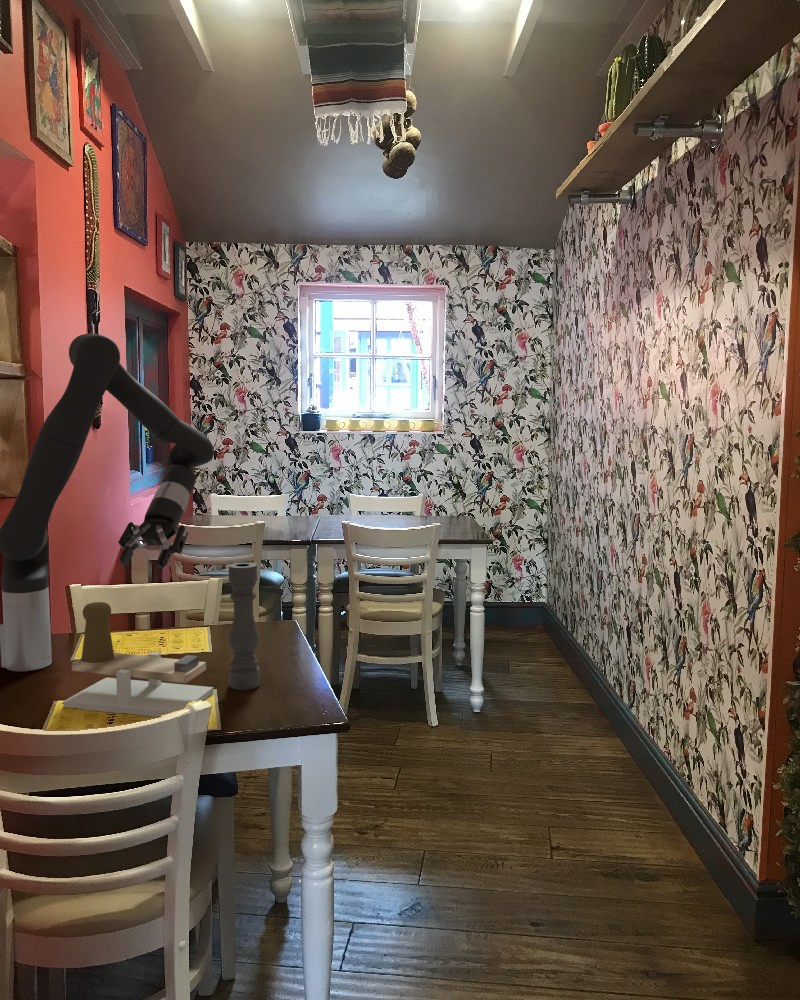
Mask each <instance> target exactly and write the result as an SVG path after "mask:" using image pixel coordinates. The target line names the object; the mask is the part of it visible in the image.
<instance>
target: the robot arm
mask: <svg viewBox="0 0 800 1000" xmlns="http://www.w3.org/2000/svg"><path fill="white" fill-rule="evenodd" d="M68 357H69V361H70V363H71V365H72V366H73V368H72V370H71V371H72V372H71V375H70V378H69V381H68V384H67V386H66V389H65V391H64V393H63V394H62V396H61V397H60V399H59V400H58V401H57V403H56V405H55V406H54V407H53V408H52V410H51V411H50V413H48V416H47V417H46V418H45V420H44V422H43V423H42V426H41V428H40V430H39V433H38V435H37V437H36V440H35V441H34V442H35V443H34V445H33V448H32V450H31V452H30V453H31V454H30V456H29V458H28V459H29V460H28V463H27V466H26V469H25V472H24V475H23V480H22V483H21V487H20V490H19V493H18V495H17V497H16V499H15V501H14V502H13V505H12V507H11V508H10V511H9V513H8V514H7V517H6V518H5V520H4V522H3V523H2V525H1V526H0V553H2V573H1V574H2V575H1V597H2V599H1V601H2V616H3V617H2V618H3V623H1V624H0V661H1V662H0V665H1V668H4V669H6V670H8V671H10V672H30V671H36V670H40V669H45V668H46V667H48V666H50V665H51V664H52V661H53V659H52V635H51V634H52V632H51V613H50V611H51V610H50V593H49V592H50V591H49V587H50V586H49V575H50V574H49V573H50V556H49V549H50V548H49V535H48V534H49V531H48V525H49V521H50V518H51V515H52V512H53V509H54V506H55V504H56V502H57V500H58V498H59V497H60V495H61V493H62V492H63V491H64V488H65V487H66V485H67V483H68V482H69V481H70V479H71V476H72V475H73V472H74V470H75V468H76V466H77V465H78V462H79V459H80V456H81V455H82V452H83V449H84V446H85V444H86V442H87V438H88V435H89V434H90V431H91V428H92V426H93V422H94V420H95V417H96V413H97V410H98V407H99V405H100V402H101V400H102V398H103V396H104V394H105V393H106V391H107V392H108V393H109V394H110V395H111V396H112V397H114V398H115V399H116V400H117V401H118V402H119V403H120V404H121V405H122V406H123V407H124V408H125V409H126V410H127V411H128V412H129V414H131V415H132V416H133V417H134V418H135V419H136V420H137V421H138V422H139V424H141V425H142V426H143V427H144V429H146V430H147V431H148V432H149V433H150V434H151V435H152V436H153V437H154V438H155V439H156V440H158V442H160V443H162V444H174V445H173V446H172V447H171V449H170V450H169V453H168V457H167V458H168V459H167V465H166V473H165V474H164V475H163V479H162V481H161V482H160V485H159V487H157V489H156V491H155V493H154V495H153V496H152V499H151V501H150V503H149V506H148V508H147V510H146V512H145V515H144V520H143V522H142V523H141V524H134V523H133V522H130V521H129V523H128V524H127V526H126V527H125V529H124V531H123V533H122V534H121V536H120V538H119V540H118V542H117V543H118V544H119V546H120V547H121V548H122V549H123V550H122V549H121V550H122V553H121V555H120V557H119V561H120V563H121V565H122V566H123V567H128V566H129V564H130V562H131V559H132V558H133V556H134V552H135V551H137V550H139V549H142V548H143V547H145V546H153V545H155V546H158V547H160V546H161V545H162V547H163V548H164V549H161V551H160V553H159V556H158V558H157V560H156V562H155V563H156V567H157V568H158V569H160V570H163V569H164V568H165V567H166V566H167V565H168V563H169V560H170V559H171V556H172V555H174V554H175V553H176V554H179V555H180V554H181V553H182V552H183V549H184V546H185V544H186V540H187V538H188V536H189V535H188V534H189V531H187V529H186V527H185V525H183V524H181V525H180V523H181V520H182V518H183V517H184V513H185V512H186V509H187V507H188V504H189V501H190V497H191V494H192V492H193V490H194V487H195V484H196V483H197V475H196V473H195V472H194V470H193V469H194V468H197V467H200V466H202V465H206V464H208V463H209V462H211V461H212V460H213V458H214V456H215V448H214V445H213V443H212V441H211V440H210V439H209V437H208V436H207V435H206V434H204V433H203V432H202V431H200V430H198V429H197V428H195V427H193V425H190V424H189V423H187V422H184V421H183V420H181V418H179V416H177V414H176V413H175V412H174V411H172V410H171V409H170V407H168V405H166V404H165V402H163V401H162V400H161V399H160V398H159V397H157V396H156V395H155V394H154V393H153V392H151V391H150V390H149V389H148V388H146V387H145V386H144V385H143V384H141V383H140V382H139V381H138V380H137V379H136V378H134V377H133V376H132V375H131V374H130V373H129V371H128V370H126V368H125V367H124V366H123V365H122V363H121V353H120V349H119V347H118V345H117V343H116V342H115V341H114V340H112V339H111V338H110V337H108V336H106V335H102V334H96V333H84V334H80V335H78V336H76V337H75V338H74V339H73V340H72V341H71V343H70V345H69V347H68ZM173 536H175V537H174V540H173V543H172V544H171V542H170V539H171V538H173ZM140 538H141V539H142V541H140Z"/></svg>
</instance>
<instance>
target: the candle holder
mask: <svg viewBox="0 0 800 1000" xmlns="http://www.w3.org/2000/svg"><path fill="white" fill-rule="evenodd" d="M257 581H258V564H257V563H255V562H235V563H231V564H229V565H228V582H229V584H230V586H231V589H232V593H231V594H230V595H229V596H230V597H229V598H230V599H231V600H232V602H233V619H232V622H231V623H232V624H231V628H230V633H229V636H228V645H229V647H230V649H231V650H232V651H233V652H232V654H233V655H234V656H233V658H232V659H231V660H230V663H229V665H230V668H229V670H228V683H229V684H228V685H229V688H231V689H232V690H237V691H248V690H253V689H256V688H258V687H259V686H260V683H261V682H260V681H261V680H260V679H261V678H260V677H261V676H260V675H261V673H260V671H261V670H260V667H259V666H258V665H259V660H258V659H257V657H256V655H255V653H256V650H257V648H258V646H259V643H260V636H259V633H258V627H257V623H256V621H255V616H254V600H255V599H256V598H257V593H256V592H255V591H254V589H255V586H256V585H257Z"/></svg>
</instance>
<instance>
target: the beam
mask: <svg viewBox="0 0 800 1000" xmlns="http://www.w3.org/2000/svg"><path fill="white" fill-rule="evenodd" d="M81 659H82V657H81V658H79V659H77V660H75V661H73V662H71V672H81V673H82V672H83V673H89V674H90V673H91V674H101V675H106V676H108V675H110V676H116V672H117V671H119V670H121V669H123V670H130V671H131V680H134V679H135V678H136V679H144V680H148V679H152V680H161V681H163V682H169V683H180V684H187V683H189V682H190V681H191V680H194V678H196V677H197V676H199V675H200V674H202V673H203V672H205V671H206V670H207V662H206V661H199V660H200V658H199V655H193V654H192V655H190V654H186V655H185V656H183V657H181V658H180V659H177V658H169V657H161V658H160V657H150V656H148V655H140V654H129V653H119V652H114V658H113V659H112V660H109V661H106V662H100V663H88V662H84V661H82V660H81Z"/></svg>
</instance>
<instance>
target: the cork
mask: <svg viewBox="0 0 800 1000" xmlns="http://www.w3.org/2000/svg"><path fill="white" fill-rule="evenodd" d="M111 615H112V608H111V606H110V604H109V603H108V602H104V601H103V602H102V601H95V602H89V603H87V604H85V606H84V607H83V609H82V616H83V619H84V620H85V627H84V635H83V643H82V650H81V651H82V652H81V658H82V659H81V658H80V659H81V660H82V661H84V662H88V663H100V662H106V661H109V660H112V659H113V658H114V653H115V652H114V648H113V645H114V644H113V640H112V634H111V628H110V622H109V619H110V617H111Z"/></svg>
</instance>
